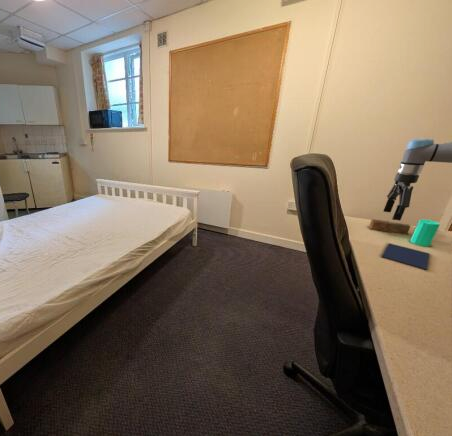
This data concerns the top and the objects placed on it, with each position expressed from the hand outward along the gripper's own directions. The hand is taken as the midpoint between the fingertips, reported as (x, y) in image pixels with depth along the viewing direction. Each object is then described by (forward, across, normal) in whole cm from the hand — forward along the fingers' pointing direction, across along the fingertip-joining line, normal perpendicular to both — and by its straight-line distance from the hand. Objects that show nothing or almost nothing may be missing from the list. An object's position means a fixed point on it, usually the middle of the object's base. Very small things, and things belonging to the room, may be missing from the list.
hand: (391, 215), depth 111 cm
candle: (+8, +12, +9) cm, 17 cm away
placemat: (+8, +31, -1) cm, 32 cm away
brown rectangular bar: (+8, 0, +1) cm, 8 cm away
